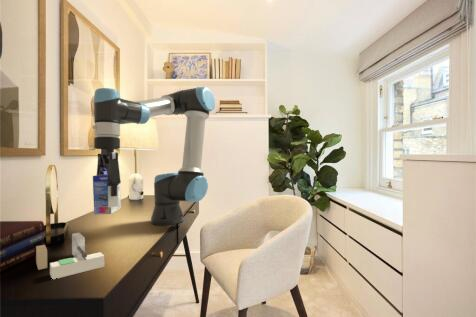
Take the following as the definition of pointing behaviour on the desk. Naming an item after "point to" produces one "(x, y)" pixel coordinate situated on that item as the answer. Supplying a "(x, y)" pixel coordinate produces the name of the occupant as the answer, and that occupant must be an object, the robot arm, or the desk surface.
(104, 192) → the ink cartridge box
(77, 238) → the block
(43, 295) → the desk surface
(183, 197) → the robot arm
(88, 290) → the desk surface
